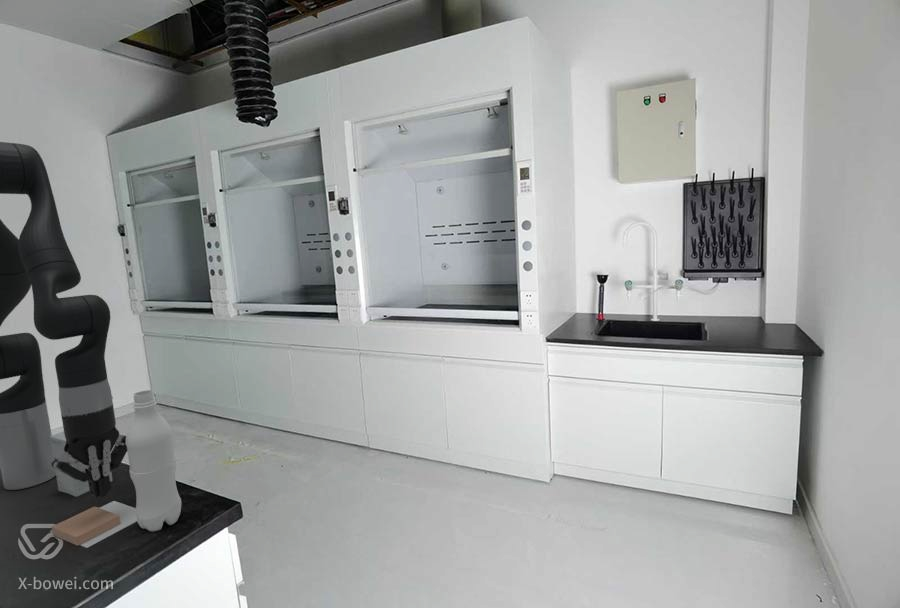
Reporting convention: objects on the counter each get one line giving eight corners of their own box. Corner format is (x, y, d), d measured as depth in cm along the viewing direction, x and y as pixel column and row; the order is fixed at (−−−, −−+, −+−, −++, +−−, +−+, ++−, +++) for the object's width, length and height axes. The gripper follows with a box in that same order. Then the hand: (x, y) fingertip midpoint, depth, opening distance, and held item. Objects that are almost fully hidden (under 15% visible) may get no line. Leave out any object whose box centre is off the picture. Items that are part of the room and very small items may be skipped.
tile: (95, 514, 92) (52, 535, 85) (94, 506, 91) (51, 526, 85) (120, 523, 88) (77, 546, 82) (119, 515, 88) (76, 537, 82)
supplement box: (57, 491, 102) (48, 435, 100) (96, 476, 108) (87, 422, 107) (75, 499, 99) (66, 441, 97) (114, 482, 105) (106, 427, 103)
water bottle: (157, 512, 92) (139, 386, 89) (191, 512, 91) (175, 386, 88) (128, 534, 85) (108, 399, 82) (165, 536, 84) (147, 399, 81)
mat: (49, 533, 87) (49, 531, 87) (114, 502, 96) (114, 500, 96) (87, 549, 81) (86, 547, 81) (151, 515, 91) (151, 513, 91)
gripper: (114, 393, 94) (126, 476, 96) (32, 416, 82) (48, 510, 85) (137, 397, 91) (149, 482, 93) (55, 422, 79) (71, 519, 81)
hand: (101, 496), depth 89 cm, fingers closed
